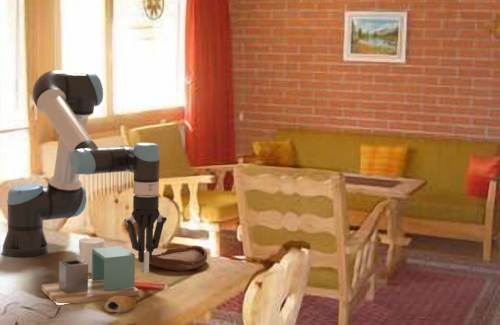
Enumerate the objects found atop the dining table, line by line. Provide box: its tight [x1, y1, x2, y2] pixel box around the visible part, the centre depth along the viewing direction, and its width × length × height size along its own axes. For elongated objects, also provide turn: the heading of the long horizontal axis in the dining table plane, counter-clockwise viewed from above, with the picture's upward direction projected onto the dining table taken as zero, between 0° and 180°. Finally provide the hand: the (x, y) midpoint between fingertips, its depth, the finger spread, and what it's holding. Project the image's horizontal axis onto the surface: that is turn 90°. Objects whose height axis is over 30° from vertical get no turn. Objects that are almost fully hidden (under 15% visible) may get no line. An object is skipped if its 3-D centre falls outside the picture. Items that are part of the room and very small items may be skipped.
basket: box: [149, 245, 208, 272], centre depth 258 cm, size 22×20×5 cm
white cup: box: [78, 236, 105, 274], centre depth 245 cm, size 8×8×10 cm
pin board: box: [40, 278, 140, 304], centre depth 223 cm, size 16×24×4 cm, turn 121°
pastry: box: [103, 296, 137, 314], centre depth 210 cm, size 9×7×4 cm
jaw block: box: [58, 258, 89, 294], centre depth 219 cm, size 6×6×8 cm
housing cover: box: [91, 245, 136, 291], centre depth 226 cm, size 11×9×10 cm
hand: (144, 272), depth 231 cm, fingers closed
